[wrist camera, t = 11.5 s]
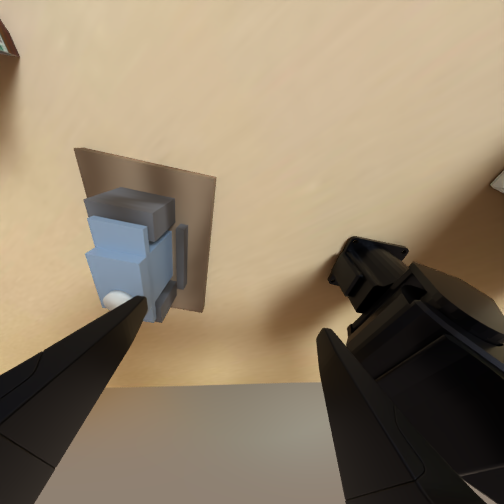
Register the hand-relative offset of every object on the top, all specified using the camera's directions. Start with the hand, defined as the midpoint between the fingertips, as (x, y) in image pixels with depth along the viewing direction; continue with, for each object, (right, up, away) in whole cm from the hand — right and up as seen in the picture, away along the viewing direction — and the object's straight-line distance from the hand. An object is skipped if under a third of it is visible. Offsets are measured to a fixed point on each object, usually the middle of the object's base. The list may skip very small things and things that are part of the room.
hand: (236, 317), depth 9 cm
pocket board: (-10, +4, +12) cm, 16 cm away
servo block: (-10, +3, +11) cm, 16 cm away
